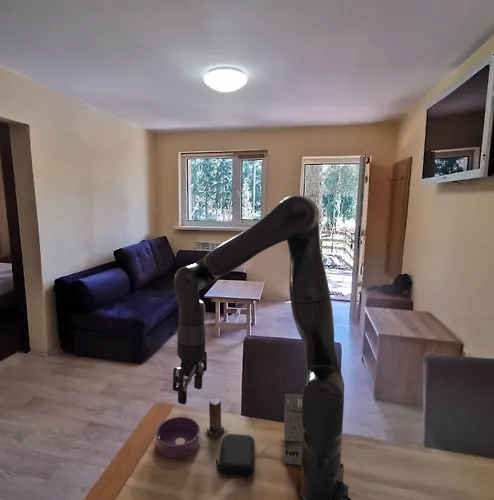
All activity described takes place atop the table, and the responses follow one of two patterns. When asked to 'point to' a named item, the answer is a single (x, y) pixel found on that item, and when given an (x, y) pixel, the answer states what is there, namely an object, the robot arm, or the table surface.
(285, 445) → the coffee box
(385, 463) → the table surface
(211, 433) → the brown wooden block
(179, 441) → the beige disc
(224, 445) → the carrying case
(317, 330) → the robot arm
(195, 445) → the bowl
